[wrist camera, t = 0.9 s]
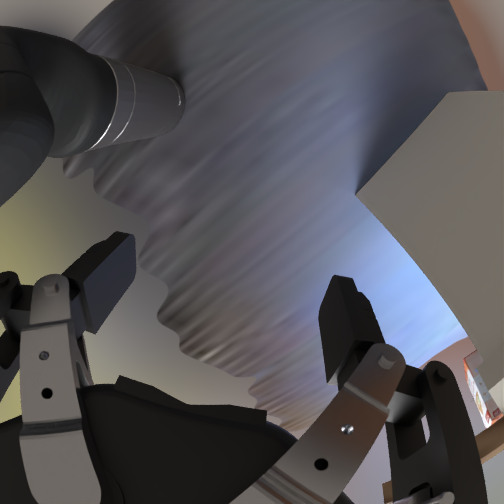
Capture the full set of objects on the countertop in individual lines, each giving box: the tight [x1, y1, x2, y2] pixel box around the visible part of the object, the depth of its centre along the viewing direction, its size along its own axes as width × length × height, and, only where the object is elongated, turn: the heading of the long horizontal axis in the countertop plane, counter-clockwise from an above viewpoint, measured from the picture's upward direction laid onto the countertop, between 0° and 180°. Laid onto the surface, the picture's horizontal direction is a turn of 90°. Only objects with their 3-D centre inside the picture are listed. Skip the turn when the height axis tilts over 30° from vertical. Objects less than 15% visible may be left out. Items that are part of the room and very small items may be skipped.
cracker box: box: [463, 350, 503, 429], centre depth 41 cm, size 14×6×21 cm, turn 38°
